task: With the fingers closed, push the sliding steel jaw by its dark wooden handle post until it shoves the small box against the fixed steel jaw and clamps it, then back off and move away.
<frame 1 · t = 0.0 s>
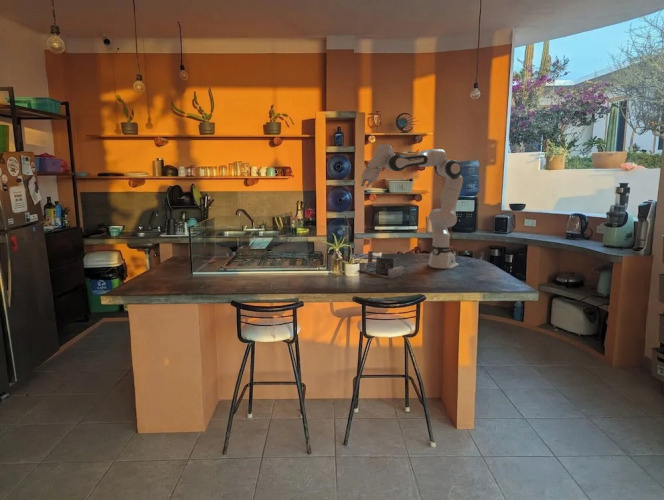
hand: (364, 186, 281), 54 cm above the countertop, tool tilted 30°, fingers open, 8 cm apart
sliding jaw: (371, 260, 290), point 6 cm above the countertop, slide at 0.0 cm
small box: (384, 274, 283), resting in fixed jaw
fixed jaw: (395, 276, 277), on the countertop
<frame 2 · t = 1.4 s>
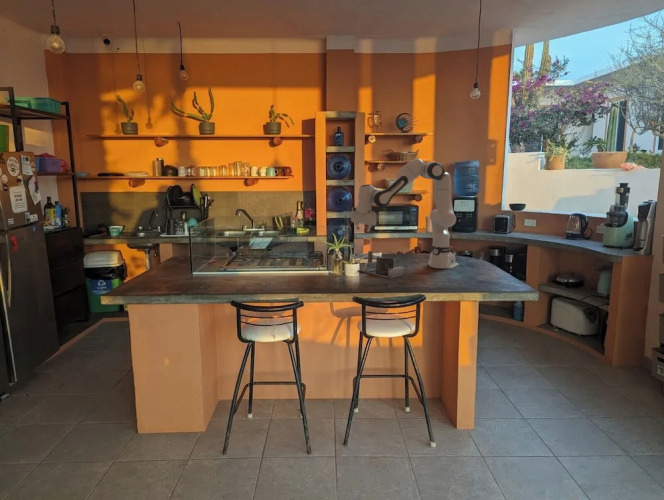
hand: (362, 230, 291), 25 cm above the countertop, tool pointing down, fingers open, 8 cm apart
nothing on the countertop moved.
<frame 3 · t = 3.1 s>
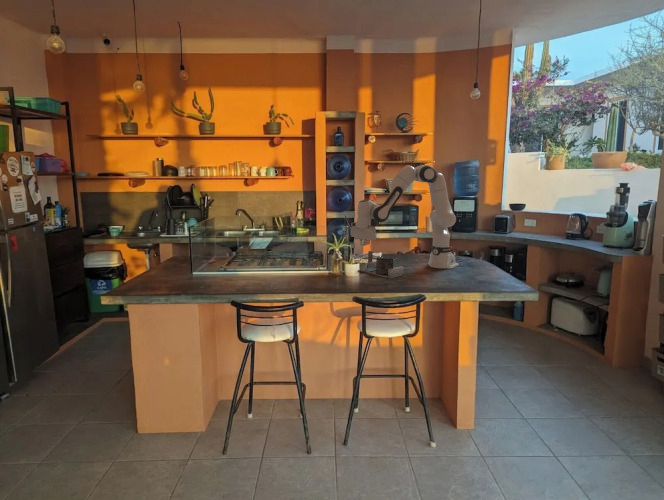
hand: (362, 245, 294), 16 cm above the countertop, tool pointing down, fingers closed
nothing on the countertop moved.
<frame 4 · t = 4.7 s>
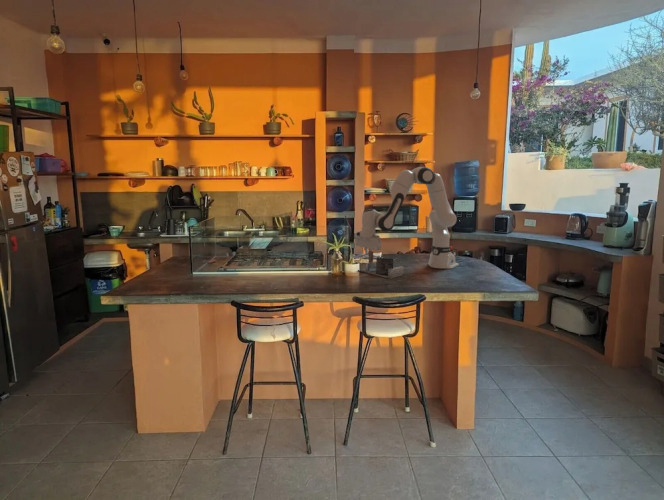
hand: (367, 254, 292), 10 cm above the countertop, tool pointing down, fingers closed
sliding jaw: (372, 261, 290), point 6 cm above the countertop, slide at 0.6 cm, touching gripper
everything else where it was.
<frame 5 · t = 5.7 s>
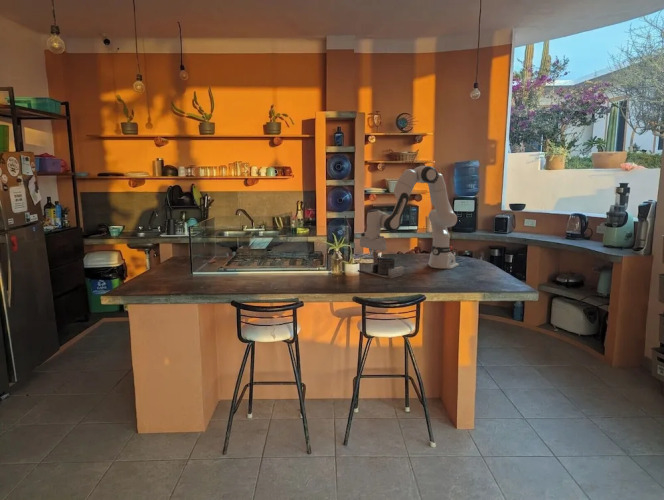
hand: (372, 255, 289), 10 cm above the countertop, tool pointing down, fingers closed
sliding jaw: (376, 262, 287), point 6 cm above the countertop, slide at 4.7 cm, touching gripper, small box
small box: (385, 274, 283), resting in fixed jaw, touching sliding jaw
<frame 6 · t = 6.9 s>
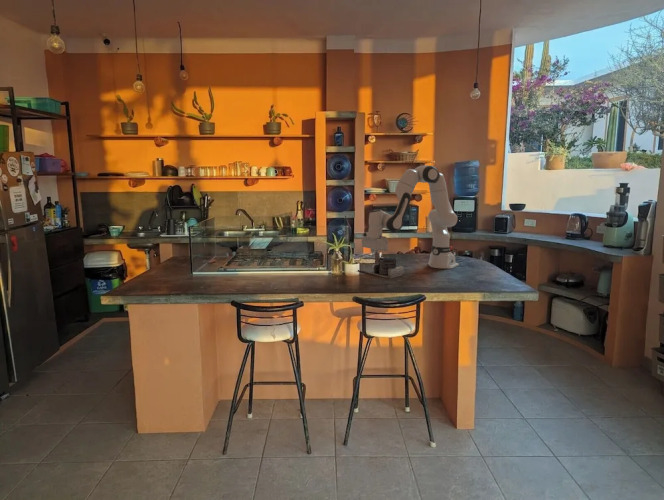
hand: (374, 255, 288), 10 cm above the countertop, tool pointing down, fingers closed
sliding jaw: (378, 262, 286), point 6 cm above the countertop, slide at 5.9 cm, touching gripper, small box
small box: (387, 274, 282), resting in fixed jaw, touching sliding jaw
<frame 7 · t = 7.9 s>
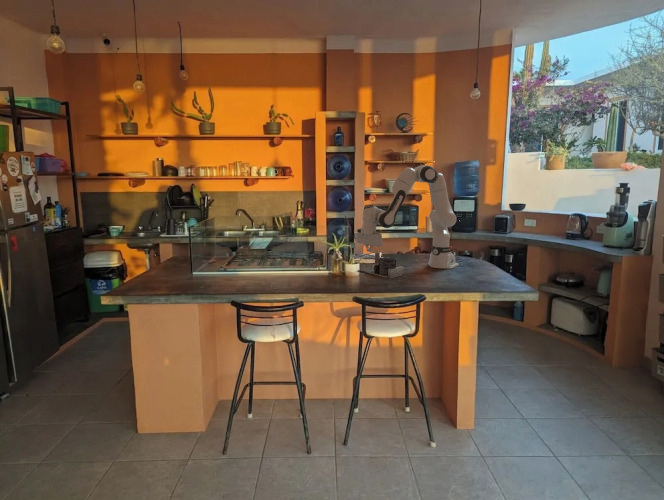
hand: (369, 251, 293), 12 cm above the countertop, tool pointing down, fingers closed
sliding jaw: (378, 262, 286), point 6 cm above the countertop, slide at 5.9 cm
small box: (387, 274, 282), resting in fixed jaw
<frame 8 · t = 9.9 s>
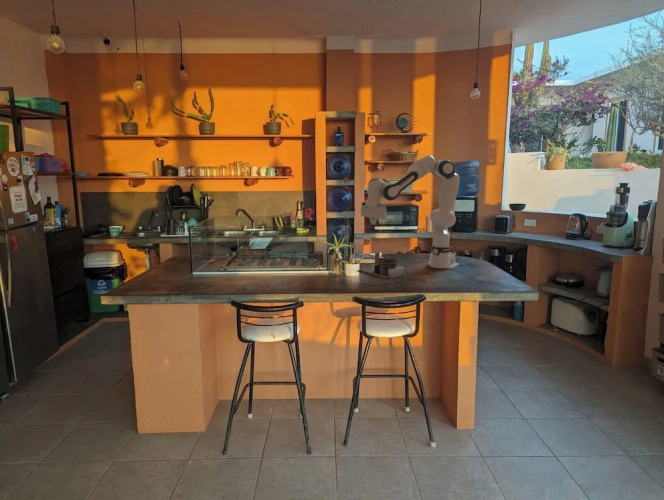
hand: (373, 224, 295), 29 cm above the countertop, tool pointing down, fingers closed
nothing on the countertop moved.
at the end: small box 0.6 cm from the target spot, resting in fixed jaw; sliding jaw slide at 5.9 cm; small box tilted 0° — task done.
